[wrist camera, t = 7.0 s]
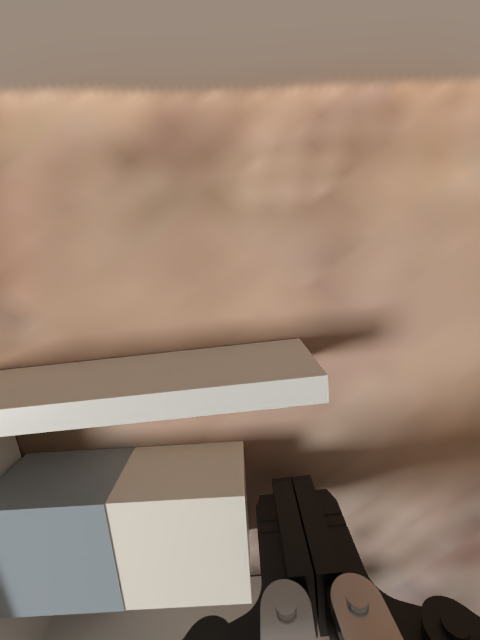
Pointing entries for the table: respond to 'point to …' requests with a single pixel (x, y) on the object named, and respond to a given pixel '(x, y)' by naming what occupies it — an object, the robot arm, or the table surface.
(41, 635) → the tray
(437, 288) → the table surface
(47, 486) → the grey-blue square block
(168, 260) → the table surface
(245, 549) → the tile white
